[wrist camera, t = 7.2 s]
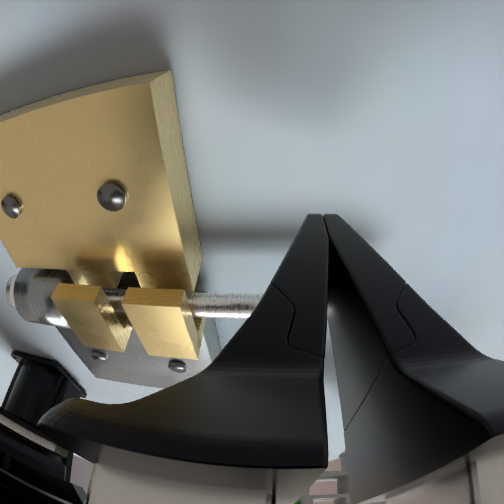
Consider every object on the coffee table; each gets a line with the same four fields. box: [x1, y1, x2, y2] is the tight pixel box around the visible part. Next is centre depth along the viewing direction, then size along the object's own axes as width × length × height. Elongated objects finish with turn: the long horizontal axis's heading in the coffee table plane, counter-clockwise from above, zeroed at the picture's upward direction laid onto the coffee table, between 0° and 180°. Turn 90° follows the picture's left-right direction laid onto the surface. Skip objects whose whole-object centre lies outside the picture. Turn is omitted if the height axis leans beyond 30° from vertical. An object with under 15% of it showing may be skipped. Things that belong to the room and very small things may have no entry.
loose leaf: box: [0, 70, 206, 360], centre depth 11 cm, size 9×10×4 cm
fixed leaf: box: [6, 268, 328, 388], centre depth 16 cm, size 18×10×4 cm, turn 93°
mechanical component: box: [294, 448, 385, 504], centre depth 19 cm, size 3×10×10 cm, turn 85°
